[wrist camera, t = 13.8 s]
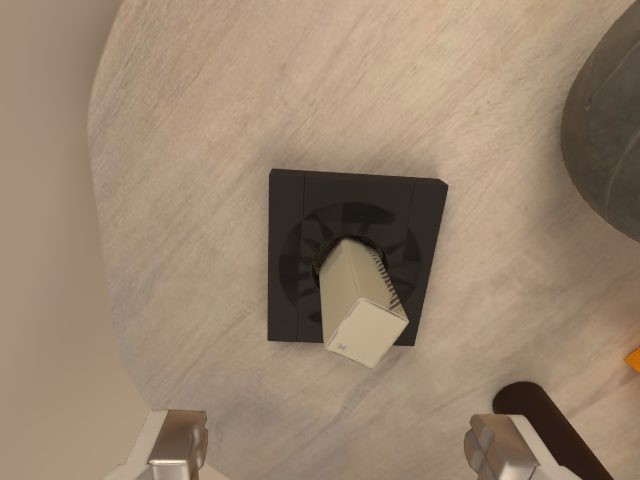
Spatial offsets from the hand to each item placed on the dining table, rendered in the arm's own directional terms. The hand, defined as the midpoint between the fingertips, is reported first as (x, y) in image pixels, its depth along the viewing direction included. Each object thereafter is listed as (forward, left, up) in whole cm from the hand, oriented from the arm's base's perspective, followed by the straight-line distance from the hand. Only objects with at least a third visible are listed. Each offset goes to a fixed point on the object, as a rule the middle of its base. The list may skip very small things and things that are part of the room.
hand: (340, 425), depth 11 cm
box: (+3, -6, -25) cm, 26 cm away
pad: (+3, -7, -25) cm, 26 cm away
